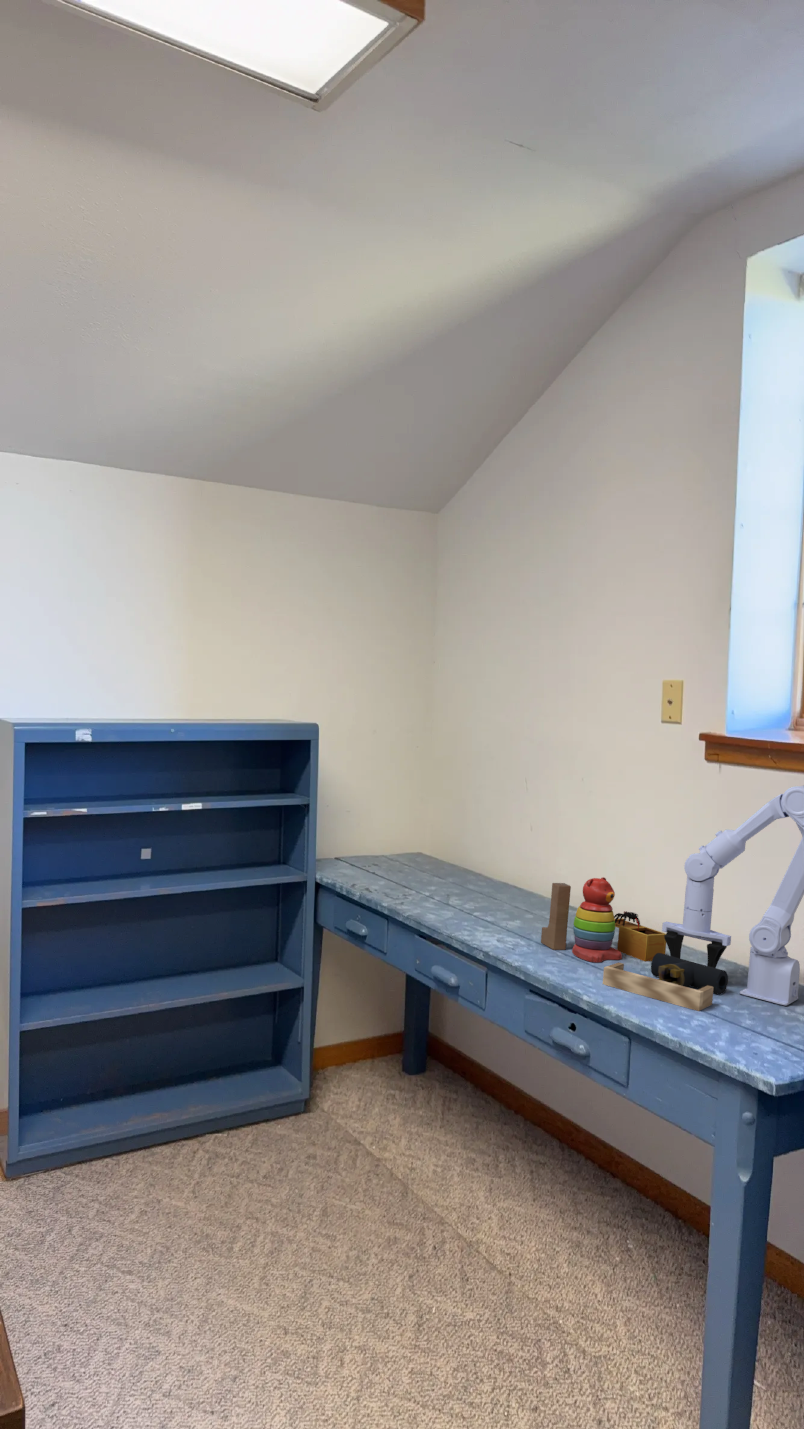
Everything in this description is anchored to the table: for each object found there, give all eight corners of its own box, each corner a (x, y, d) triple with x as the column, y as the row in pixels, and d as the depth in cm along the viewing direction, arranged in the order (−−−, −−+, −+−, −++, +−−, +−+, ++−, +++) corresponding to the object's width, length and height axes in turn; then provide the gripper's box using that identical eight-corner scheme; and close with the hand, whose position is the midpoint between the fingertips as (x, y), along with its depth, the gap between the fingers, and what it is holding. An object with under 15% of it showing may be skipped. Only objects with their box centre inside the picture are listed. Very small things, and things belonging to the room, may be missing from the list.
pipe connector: (701, 975, 187) (635, 956, 198) (699, 1001, 187) (633, 981, 198) (729, 968, 195) (664, 951, 206) (726, 994, 195) (661, 975, 206)
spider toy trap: (620, 943, 231) (623, 905, 231) (665, 960, 218) (668, 920, 218) (600, 944, 228) (603, 906, 228) (644, 961, 215) (647, 921, 215)
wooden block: (565, 950, 220) (571, 885, 219) (553, 950, 219) (558, 885, 218) (552, 942, 226) (558, 880, 226) (540, 942, 225) (545, 879, 225)
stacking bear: (593, 963, 209) (600, 883, 209) (560, 952, 217) (566, 875, 217) (625, 959, 216) (632, 881, 216) (592, 948, 224) (598, 873, 224)
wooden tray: (712, 1004, 185) (713, 987, 185) (698, 1011, 180) (700, 993, 180) (617, 979, 198) (618, 962, 198) (602, 984, 193) (603, 967, 193)
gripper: (738, 913, 201) (733, 977, 201) (674, 900, 211) (668, 960, 211) (725, 917, 196) (720, 982, 196) (660, 903, 205) (654, 965, 205)
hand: (692, 971), depth 203 cm, fingers open, 7 cm apart
